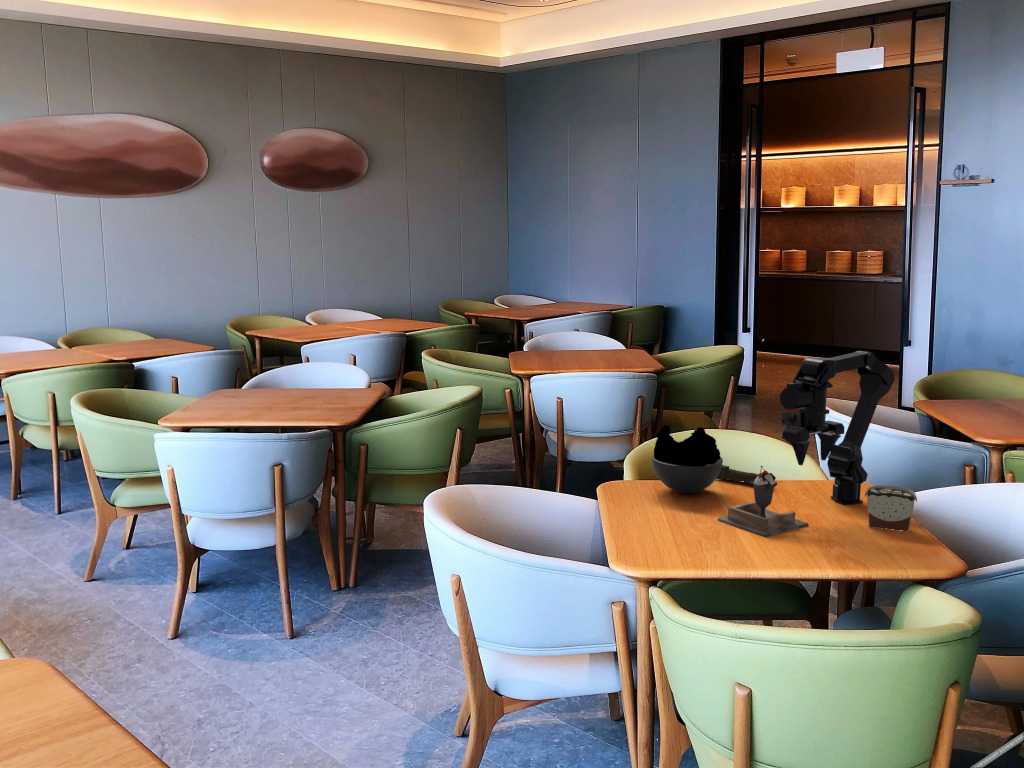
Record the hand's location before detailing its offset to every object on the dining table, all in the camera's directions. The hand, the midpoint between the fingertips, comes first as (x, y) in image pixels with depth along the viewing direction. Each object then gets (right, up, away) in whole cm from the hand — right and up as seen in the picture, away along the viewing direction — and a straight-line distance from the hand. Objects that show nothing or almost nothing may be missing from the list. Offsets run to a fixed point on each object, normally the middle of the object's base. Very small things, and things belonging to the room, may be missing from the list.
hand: (811, 462), depth 250 cm
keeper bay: (-16, -15, -9) cm, 23 cm away
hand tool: (-13, -9, +29) cm, 33 cm away
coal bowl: (-30, -10, +19) cm, 37 cm away
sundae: (-16, -14, -9) cm, 23 cm away
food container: (+16, -15, -12) cm, 25 cm away
